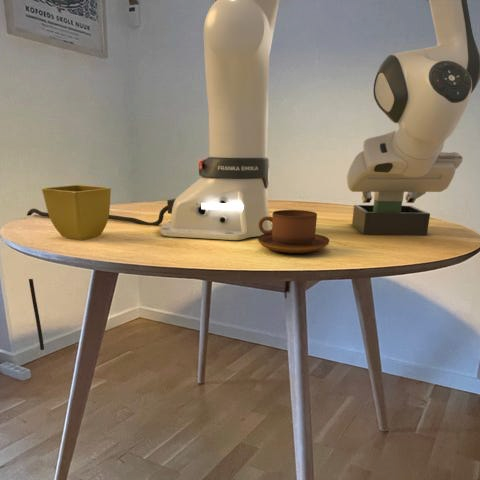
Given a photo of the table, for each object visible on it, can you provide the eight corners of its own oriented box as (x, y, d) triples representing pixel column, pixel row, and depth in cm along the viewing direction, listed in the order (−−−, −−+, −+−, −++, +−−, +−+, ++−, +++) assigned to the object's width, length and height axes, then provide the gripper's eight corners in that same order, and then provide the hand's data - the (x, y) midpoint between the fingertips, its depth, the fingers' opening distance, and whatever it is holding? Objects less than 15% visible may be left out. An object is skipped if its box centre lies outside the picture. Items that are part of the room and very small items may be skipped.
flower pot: (116, 235, 90) (112, 187, 86) (82, 243, 82) (76, 191, 79) (82, 231, 94) (77, 184, 90) (47, 238, 86) (40, 188, 83)
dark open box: (363, 234, 93) (365, 212, 92) (352, 224, 104) (354, 204, 102) (426, 235, 93) (430, 213, 91) (409, 225, 104) (411, 205, 102)
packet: (375, 225, 99) (380, 181, 95) (371, 222, 102) (376, 179, 99) (399, 225, 99) (405, 181, 95) (394, 222, 102) (400, 179, 99)
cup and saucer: (258, 257, 74) (259, 218, 72) (256, 242, 85) (257, 207, 83) (334, 258, 74) (337, 219, 72) (322, 242, 85) (324, 208, 83)
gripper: (463, 140, 88) (432, 188, 101) (356, 139, 87) (338, 188, 100) (470, 166, 86) (438, 212, 98) (361, 165, 85) (342, 212, 97)
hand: (387, 200), depth 99 cm, fingers open, 8 cm apart
